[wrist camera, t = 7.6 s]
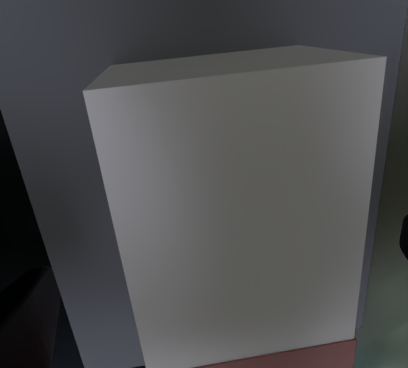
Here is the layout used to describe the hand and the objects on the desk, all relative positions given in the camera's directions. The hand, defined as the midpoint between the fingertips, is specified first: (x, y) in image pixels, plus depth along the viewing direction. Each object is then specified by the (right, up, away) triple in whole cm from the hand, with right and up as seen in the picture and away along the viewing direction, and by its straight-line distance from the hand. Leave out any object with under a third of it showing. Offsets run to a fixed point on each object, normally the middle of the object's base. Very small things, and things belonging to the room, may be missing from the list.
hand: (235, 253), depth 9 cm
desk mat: (0, +1, +3) cm, 3 cm away
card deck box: (0, +1, +2) cm, 2 cm away
